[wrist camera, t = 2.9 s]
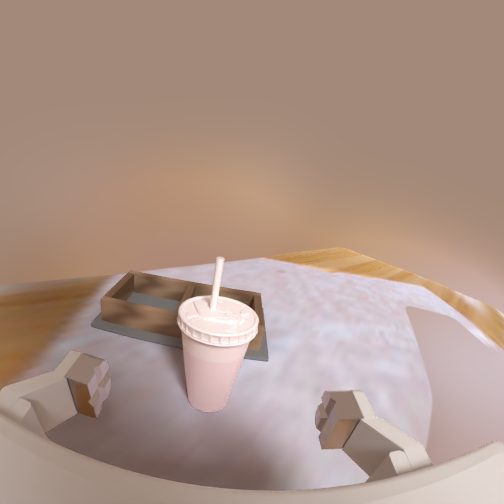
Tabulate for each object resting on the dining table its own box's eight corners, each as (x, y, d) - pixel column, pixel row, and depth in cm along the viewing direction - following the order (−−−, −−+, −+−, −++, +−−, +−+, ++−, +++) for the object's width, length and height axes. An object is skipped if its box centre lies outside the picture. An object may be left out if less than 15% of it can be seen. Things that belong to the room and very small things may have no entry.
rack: (101, 320, 32) (100, 299, 31) (130, 288, 42) (130, 270, 41) (259, 350, 33) (264, 330, 32) (256, 310, 43) (260, 293, 42)
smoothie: (197, 369, 28) (212, 242, 25) (251, 393, 26) (282, 262, 22) (160, 401, 23) (164, 256, 19) (220, 434, 20) (249, 286, 17)
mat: (91, 326, 31) (91, 323, 31) (127, 286, 43) (127, 284, 43) (267, 361, 32) (268, 358, 32) (262, 310, 45) (262, 308, 44)
